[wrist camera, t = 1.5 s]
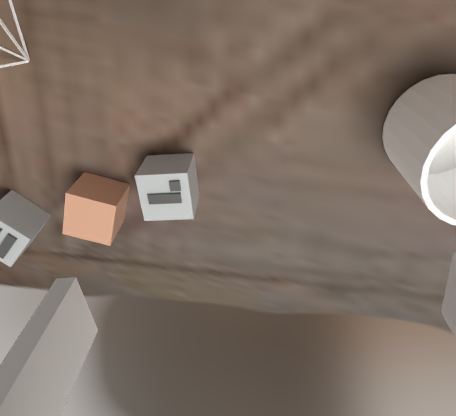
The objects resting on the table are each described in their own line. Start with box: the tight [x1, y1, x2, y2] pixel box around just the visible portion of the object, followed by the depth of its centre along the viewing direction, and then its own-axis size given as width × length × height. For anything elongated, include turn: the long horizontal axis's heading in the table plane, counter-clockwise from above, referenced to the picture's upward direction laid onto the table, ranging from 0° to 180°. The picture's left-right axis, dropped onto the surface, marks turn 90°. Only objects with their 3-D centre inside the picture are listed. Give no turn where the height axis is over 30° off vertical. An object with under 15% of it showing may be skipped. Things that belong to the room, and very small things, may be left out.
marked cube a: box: [0, 190, 51, 267], centre depth 43 cm, size 5×5×5 cm
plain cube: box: [63, 172, 130, 246], centre depth 41 cm, size 5×5×5 cm
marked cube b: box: [135, 153, 199, 221], centre depth 40 cm, size 5×5×5 cm
